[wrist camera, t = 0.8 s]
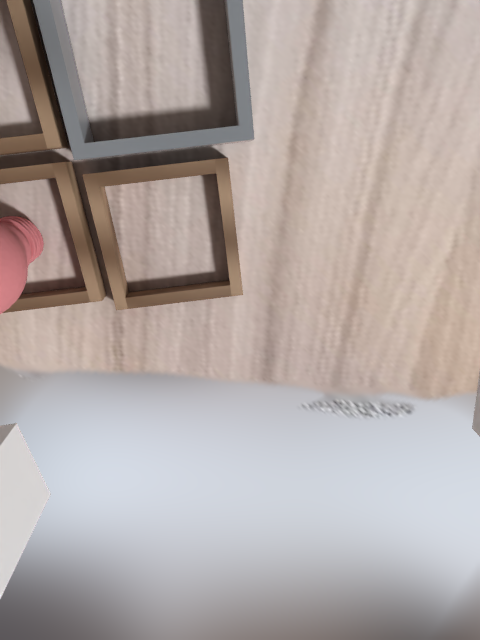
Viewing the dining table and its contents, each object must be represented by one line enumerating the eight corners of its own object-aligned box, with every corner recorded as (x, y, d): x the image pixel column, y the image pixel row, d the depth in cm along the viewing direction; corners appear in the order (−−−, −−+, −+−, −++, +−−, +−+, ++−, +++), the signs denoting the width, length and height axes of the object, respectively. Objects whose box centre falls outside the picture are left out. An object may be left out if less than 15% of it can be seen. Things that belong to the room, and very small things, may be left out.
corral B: (-71, 178, 29) (-85, 179, 28) (72, 161, 30) (65, 161, 28) (-18, 310, 34) (-28, 316, 32) (106, 295, 34) (102, 300, 32)
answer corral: (31, -58, 25) (12, -81, 22) (232, -80, 25) (233, -104, 22) (85, 160, 30) (73, 160, 27) (251, 140, 30) (254, 139, 27)
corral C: (88, 173, 30) (82, 174, 29) (227, 157, 30) (227, 157, 29) (120, 304, 34) (116, 310, 33) (241, 289, 34) (243, 294, 33)
